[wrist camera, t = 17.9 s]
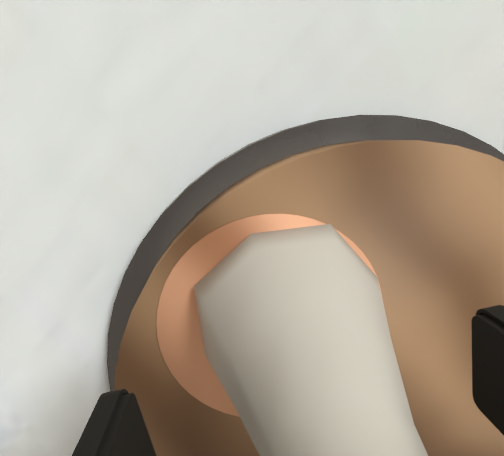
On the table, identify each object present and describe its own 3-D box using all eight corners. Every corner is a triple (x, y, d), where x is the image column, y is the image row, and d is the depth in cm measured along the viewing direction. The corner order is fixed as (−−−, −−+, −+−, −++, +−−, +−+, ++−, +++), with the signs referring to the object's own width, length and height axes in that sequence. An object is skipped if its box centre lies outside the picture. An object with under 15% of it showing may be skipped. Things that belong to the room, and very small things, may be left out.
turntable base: (626, 58, 15) (766, 31, 11) (584, 460, 22) (663, 529, 18) (41, 176, 14) (-27, 189, 10) (180, 558, 21) (171, 654, 17)
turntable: (359, 15, 12) (522, -132, 6) (642, 333, 18) (904, 453, 11) (31, 408, 16) (-116, 615, 9) (353, 581, 21) (417, 796, 14)
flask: (243, 415, 14) (289, 1006, 4) (160, 272, 12) (-72, 779, 3) (400, 345, 14) (802, 811, 4) (342, 189, 12) (841, 397, 2)
